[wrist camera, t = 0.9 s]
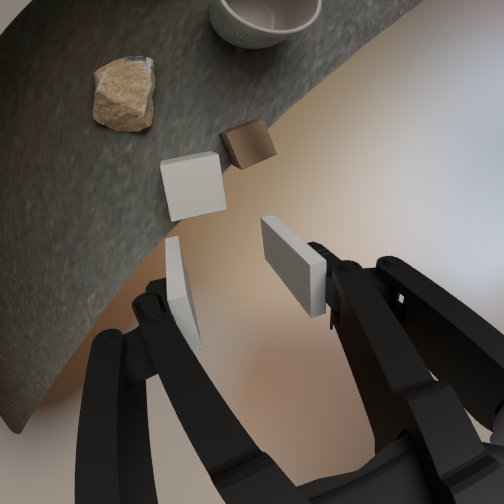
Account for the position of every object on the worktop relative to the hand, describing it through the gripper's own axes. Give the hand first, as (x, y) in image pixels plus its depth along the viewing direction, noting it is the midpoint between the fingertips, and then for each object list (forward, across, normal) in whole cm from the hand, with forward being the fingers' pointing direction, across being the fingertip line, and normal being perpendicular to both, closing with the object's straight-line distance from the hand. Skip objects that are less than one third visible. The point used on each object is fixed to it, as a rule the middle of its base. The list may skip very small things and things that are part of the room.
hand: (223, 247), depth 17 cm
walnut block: (+25, +8, +4) cm, 26 cm away
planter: (+25, +11, +23) cm, 36 cm away
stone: (+25, -7, +14) cm, 29 cm away
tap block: (+25, 0, 0) cm, 25 cm away
